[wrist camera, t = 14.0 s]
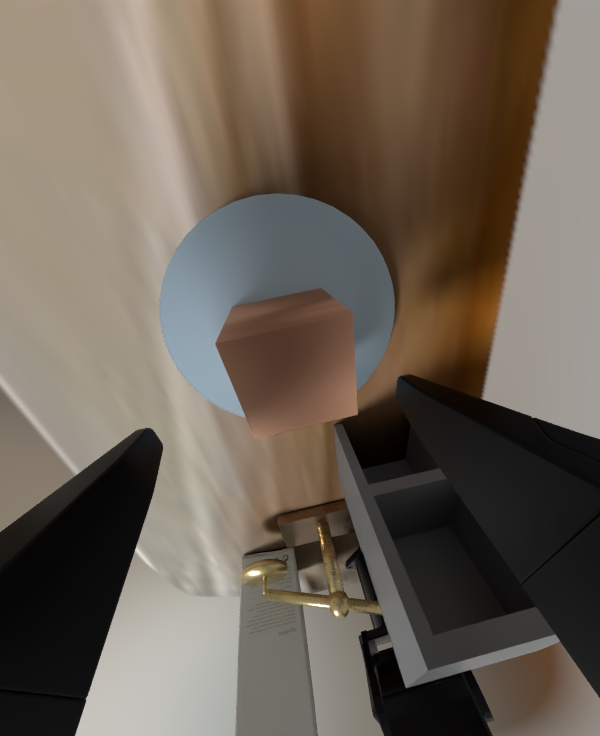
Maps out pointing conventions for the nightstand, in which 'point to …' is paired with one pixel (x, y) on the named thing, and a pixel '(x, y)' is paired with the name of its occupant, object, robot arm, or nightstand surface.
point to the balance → (322, 528)
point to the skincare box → (273, 660)
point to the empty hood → (397, 489)
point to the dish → (270, 281)
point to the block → (291, 361)
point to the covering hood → (448, 598)
